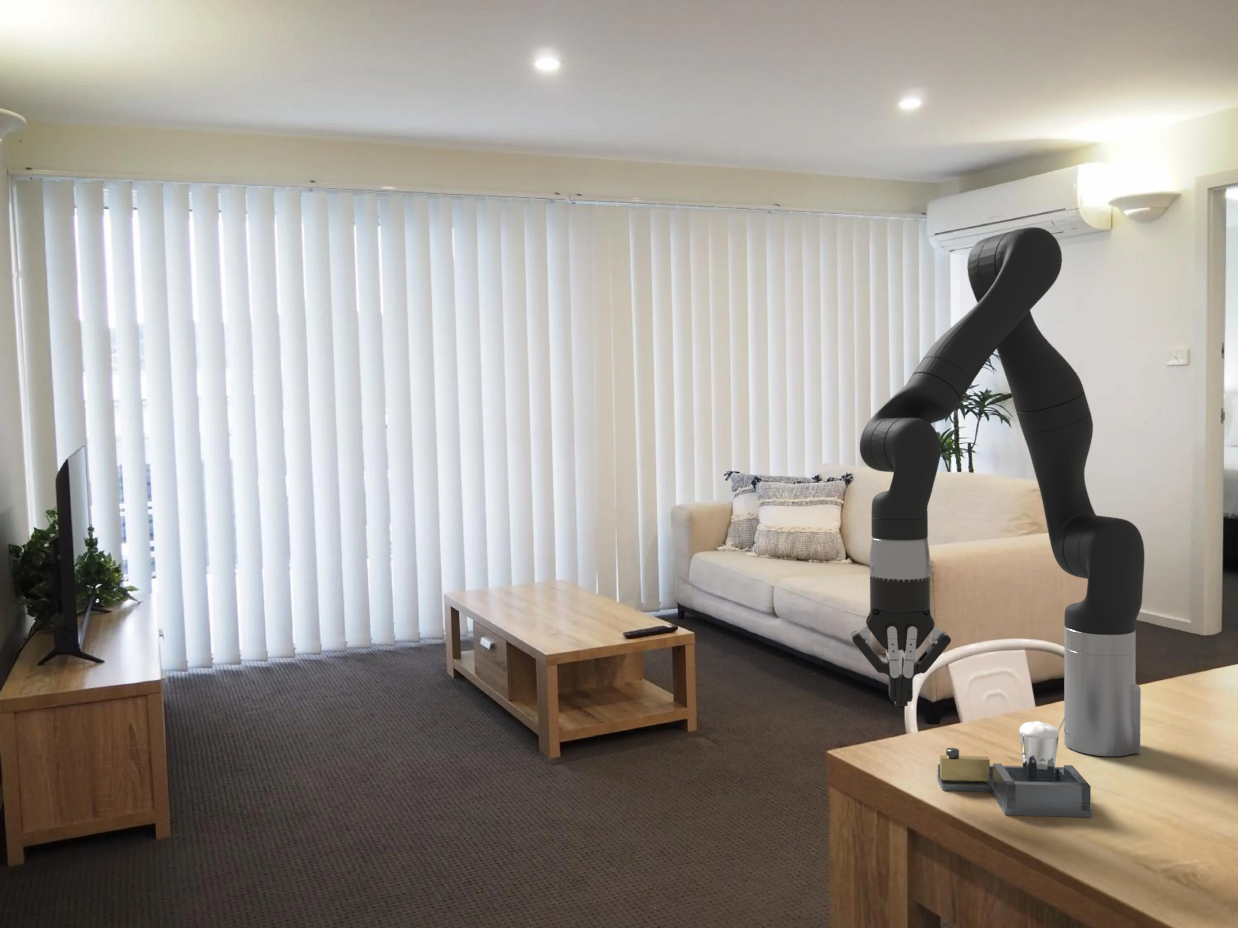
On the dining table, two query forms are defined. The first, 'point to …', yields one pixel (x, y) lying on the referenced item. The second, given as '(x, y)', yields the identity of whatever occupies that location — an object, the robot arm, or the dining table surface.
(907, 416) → the robot arm
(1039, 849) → the dining table surface
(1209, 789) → the dining table surface
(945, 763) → the bar
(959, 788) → the dock
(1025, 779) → the milkshake
